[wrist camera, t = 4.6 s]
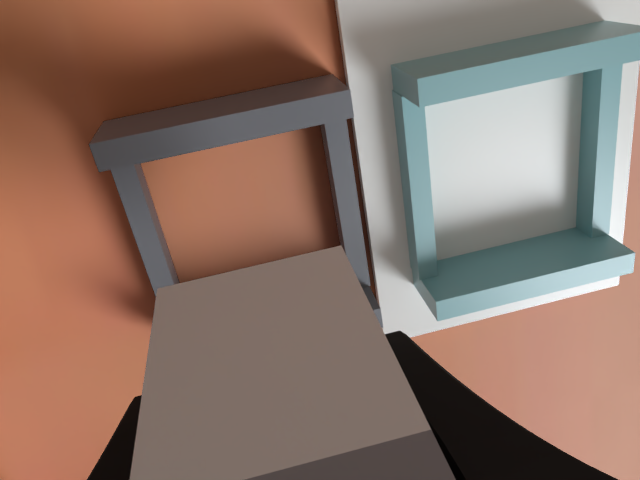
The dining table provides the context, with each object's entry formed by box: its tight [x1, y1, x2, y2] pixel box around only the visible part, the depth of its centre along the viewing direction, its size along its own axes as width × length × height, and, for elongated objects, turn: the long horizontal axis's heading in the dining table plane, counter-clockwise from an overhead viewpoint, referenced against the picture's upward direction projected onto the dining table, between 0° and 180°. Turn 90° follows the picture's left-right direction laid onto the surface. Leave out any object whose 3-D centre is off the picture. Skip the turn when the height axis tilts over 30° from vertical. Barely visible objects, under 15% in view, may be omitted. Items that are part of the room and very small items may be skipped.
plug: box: [130, 246, 456, 480], centre depth 10 cm, size 4×4×7 cm
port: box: [335, 0, 640, 338], centre depth 19 cm, size 10×13×3 cm
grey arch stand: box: [89, 74, 383, 328], centre depth 18 cm, size 7×8×2 cm
